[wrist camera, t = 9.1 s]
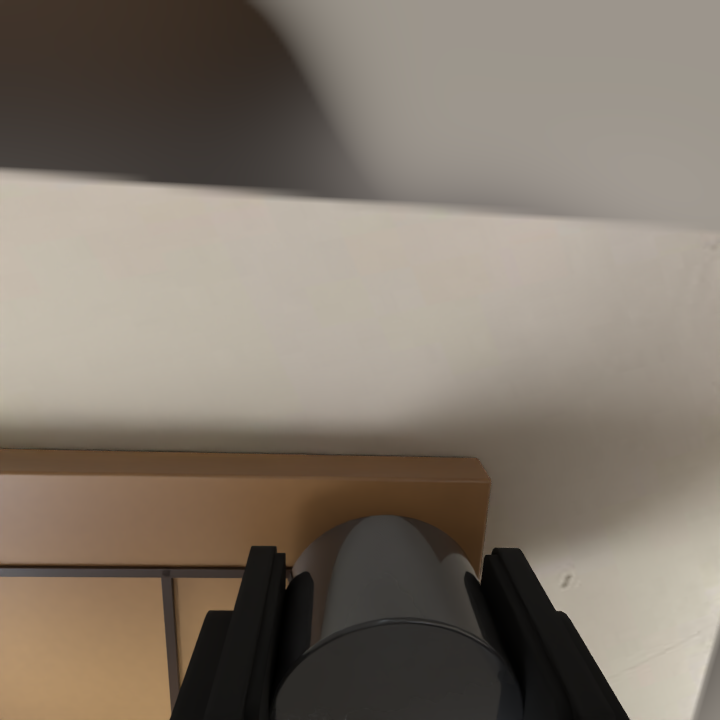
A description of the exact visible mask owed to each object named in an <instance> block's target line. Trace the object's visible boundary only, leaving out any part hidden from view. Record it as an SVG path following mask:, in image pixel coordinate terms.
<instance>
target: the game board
mask: <svg viewBox="0 0 720 720" xmlns="http://www.w3.org/2000/svg"><path fill="white" fill-rule="evenodd" d="M491 482H492V481H491V479H490V477H489V475H488V474H487V472H486V471H485V469H484V467H483V466H482V464H481V462H480V461H479V459H477V458H456V457H404V456H352V455H299V454H247V453H195V452H142V451H90V450H37V449H0V720H170V717H171V714H172V711H173V708H174V705H175V703H176V700H177V697H178V694H179V691H180V688H181V685H182V682H183V679H184V676H185V674H186V671H187V668H188V665H189V662H190V659H191V656H192V653H193V650H194V648H195V645H196V642H197V639H198V636H199V633H200V630H201V627H202V624H203V621H204V619H205V616H206V614H207V612H208V611H209V610H234V606H235V603H236V599H237V595H238V592H239V588H240V585H241V581H242V577H243V574H244V570H245V567H246V563H247V559H248V556H249V552H250V549H251V546H276V547H277V553H286V584H287V580H288V577H289V575H290V572H291V570H292V568H293V566H294V564H295V563H296V561H297V559H298V558H299V557H300V555H301V554H302V553H303V551H304V550H305V549H306V548H307V547H308V546H309V545H310V544H311V543H312V542H313V541H314V540H315V539H317V538H318V537H319V536H321V535H322V534H323V533H325V532H326V531H328V530H330V529H332V528H333V527H335V526H337V525H340V524H342V523H344V522H347V521H350V520H353V519H357V518H360V517H366V516H372V515H400V516H405V517H410V518H415V519H418V520H421V521H424V522H426V523H428V524H431V525H433V526H435V527H437V528H438V529H440V530H441V531H443V532H445V533H446V534H448V535H449V536H450V537H451V538H452V539H453V540H455V541H456V542H457V543H458V545H459V546H460V547H461V548H462V549H463V550H464V552H465V553H466V555H467V556H468V558H469V559H470V561H471V564H472V566H473V568H474V570H475V573H476V575H477V578H478V580H479V579H480V571H481V563H482V554H483V546H484V538H485V530H486V522H487V514H488V506H489V498H490V490H491Z"/></svg>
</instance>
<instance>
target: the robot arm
mask: <svg viewBox="0 0 720 720" xmlns="http://www.w3.org/2000/svg"><path fill="white" fill-rule="evenodd" d="M481 588H482V590H483V593H484V595H485V598H486V600H487V603H488V605H489V608H490V610H491V613H492V615H493V618H494V620H495V623H496V625H497V628H498V630H499V633H500V635H501V638H502V640H503V643H504V645H505V648H506V650H507V653H508V655H509V658H510V660H511V663H512V665H513V668H514V670H515V673H516V675H517V678H518V680H519V683H520V686H521V689H522V693H523V697H524V717H523V720H630V719H629V717H628V716H627V714H626V712H625V711H624V709H623V707H622V706H621V704H620V702H619V701H618V699H617V697H616V696H615V694H614V692H613V691H612V689H611V687H610V685H609V684H608V682H607V680H606V679H605V677H604V675H603V674H602V672H601V670H600V669H599V667H598V665H597V664H596V662H595V660H594V659H593V657H592V655H591V654H590V652H589V650H588V649H587V647H586V645H585V643H584V642H583V640H582V638H581V637H580V635H579V633H578V632H577V630H576V628H575V627H574V625H573V623H572V622H571V620H570V619H569V617H568V616H567V615H566V614H565V613H564V612H562V611H556V610H555V609H554V607H553V605H552V603H551V602H550V600H549V598H548V596H547V595H546V593H545V591H544V589H543V588H542V586H541V584H540V582H539V581H538V579H537V577H536V575H535V574H534V572H533V570H532V568H531V567H530V565H529V563H528V561H527V560H526V558H525V556H524V554H523V553H522V551H521V550H520V549H519V548H494V549H493V551H492V554H491V555H485V557H484V563H483V571H482V579H481ZM285 591H286V553H277V547H276V546H251V549H250V552H249V556H248V559H247V563H246V567H245V570H244V574H243V577H242V581H241V585H240V588H239V592H238V595H237V599H236V603H235V606H234V610H209V611H208V612H207V614H206V616H205V619H204V621H203V624H202V627H201V630H200V633H199V636H198V639H197V642H196V645H195V648H194V650H193V653H192V656H191V659H190V662H189V665H188V668H187V671H186V674H185V676H184V679H183V682H182V685H181V688H180V691H179V694H178V697H177V700H176V703H175V705H174V708H173V711H172V714H171V717H170V720H268V712H269V700H270V693H271V687H272V680H273V673H274V666H275V659H276V653H277V646H278V639H279V632H280V625H281V619H282V612H283V605H284V598H285Z"/></svg>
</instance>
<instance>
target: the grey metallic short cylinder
mask: <svg viewBox="0 0 720 720" xmlns="http://www.w3.org/2000/svg"><path fill="white" fill-rule="evenodd" d="M523 717H524V697H523V693H522V689H521V686H520V683H519V680H518V678H517V675H516V673H515V670H514V668H513V665H512V663H511V660H510V658H509V655H508V653H507V650H506V648H505V645H504V643H503V640H502V638H501V635H500V633H499V630H498V628H497V625H496V623H495V620H494V618H493V615H492V613H491V610H490V608H489V605H488V603H487V600H486V598H485V595H484V593H483V590H482V588H481V585H480V583H479V580H478V578H477V575H476V573H475V570H474V568H473V566H472V564H471V561H470V559H469V558H468V556H467V555H466V553H465V552H464V550H463V549H462V548H461V547H460V546H459V545H458V543H457V542H456V541H455V540H453V539H452V538H451V537H450V536H449V535H448V534H446V533H445V532H443V531H441V530H440V529H438V528H437V527H435V526H433V525H431V524H428V523H426V522H424V521H421V520H418V519H415V518H410V517H405V516H400V515H372V516H366V517H360V518H357V519H353V520H350V521H347V522H344V523H342V524H340V525H337V526H335V527H333V528H332V529H330V530H328V531H326V532H325V533H323V534H322V535H321V536H319V537H318V538H317V539H315V540H314V541H313V542H312V543H311V544H310V545H309V546H308V547H307V548H306V549H305V550H304V551H303V553H302V554H301V555H300V557H299V558H298V559H297V561H296V563H295V564H294V566H293V568H292V570H291V572H290V575H289V577H288V580H287V584H286V591H285V598H284V605H283V612H282V619H281V625H280V632H279V639H278V646H277V653H276V659H275V666H274V673H273V680H272V687H271V693H270V700H269V712H268V720H523Z"/></svg>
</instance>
